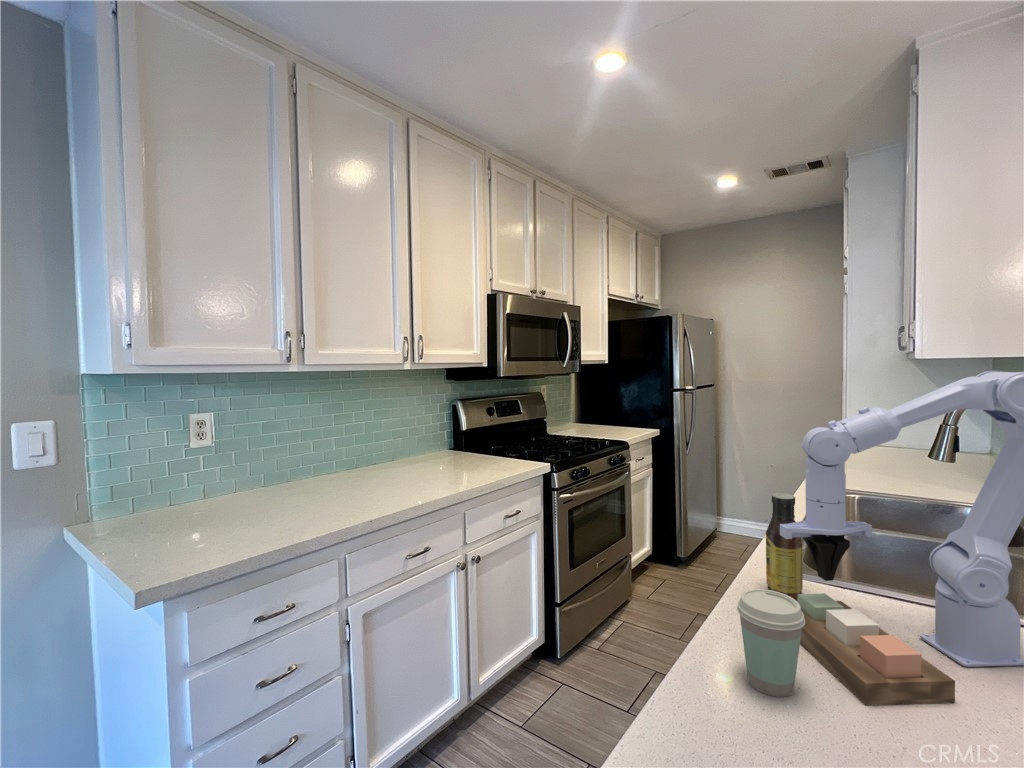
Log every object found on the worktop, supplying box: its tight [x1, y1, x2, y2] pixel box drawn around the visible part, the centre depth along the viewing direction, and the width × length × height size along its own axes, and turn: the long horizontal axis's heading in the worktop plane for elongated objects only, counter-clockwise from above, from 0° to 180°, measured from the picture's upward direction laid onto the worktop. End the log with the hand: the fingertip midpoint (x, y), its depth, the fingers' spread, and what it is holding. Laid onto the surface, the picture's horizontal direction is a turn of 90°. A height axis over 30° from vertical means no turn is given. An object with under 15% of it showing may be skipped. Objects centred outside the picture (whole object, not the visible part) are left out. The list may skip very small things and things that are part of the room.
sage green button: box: [797, 592, 844, 620], centre depth 83 cm, size 5×5×4 cm
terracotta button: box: [860, 634, 922, 679], centre depth 68 cm, size 5×5×4 cm
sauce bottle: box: [765, 492, 804, 600], centre depth 95 cm, size 7×6×20 cm
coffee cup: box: [736, 588, 805, 698], centre depth 69 cm, size 8×8×12 cm
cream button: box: [826, 608, 880, 647], centre depth 75 cm, size 5×5×4 cm
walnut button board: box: [800, 600, 956, 706], centre depth 75 cm, size 12×22×3 cm, turn 1°
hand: (825, 578), depth 82 cm, fingers closed
